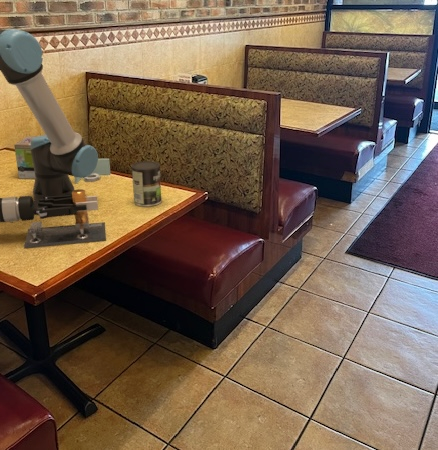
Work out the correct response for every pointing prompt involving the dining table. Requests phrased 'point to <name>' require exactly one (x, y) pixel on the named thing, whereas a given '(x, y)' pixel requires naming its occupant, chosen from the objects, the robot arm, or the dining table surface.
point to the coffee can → (146, 183)
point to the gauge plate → (63, 235)
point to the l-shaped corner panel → (97, 171)
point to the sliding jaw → (81, 216)
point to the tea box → (25, 158)
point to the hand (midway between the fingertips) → (97, 202)
